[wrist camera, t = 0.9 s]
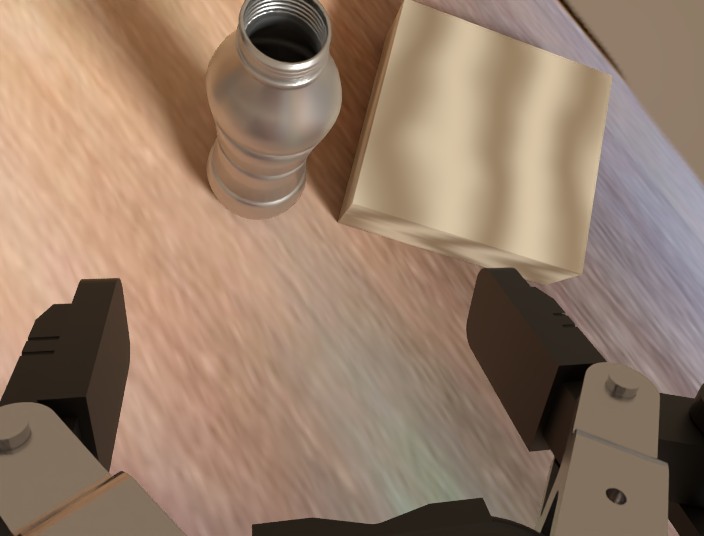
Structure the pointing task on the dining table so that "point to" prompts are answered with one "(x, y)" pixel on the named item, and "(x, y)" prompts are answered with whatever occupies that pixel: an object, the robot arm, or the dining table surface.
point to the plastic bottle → (270, 104)
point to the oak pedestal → (479, 147)
